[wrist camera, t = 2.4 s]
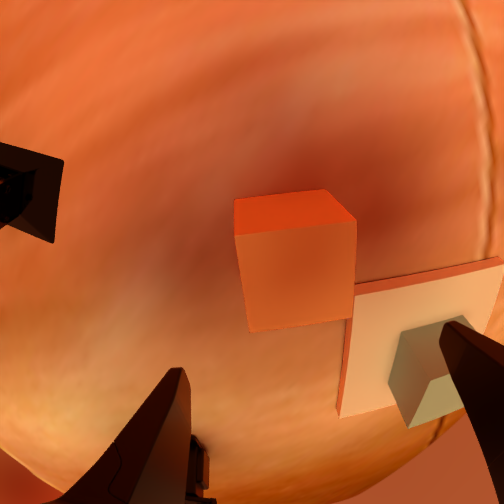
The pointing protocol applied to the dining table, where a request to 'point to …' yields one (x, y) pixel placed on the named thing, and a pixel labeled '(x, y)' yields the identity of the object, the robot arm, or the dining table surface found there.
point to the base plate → (407, 323)
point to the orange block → (295, 259)
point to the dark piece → (29, 191)
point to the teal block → (423, 375)
